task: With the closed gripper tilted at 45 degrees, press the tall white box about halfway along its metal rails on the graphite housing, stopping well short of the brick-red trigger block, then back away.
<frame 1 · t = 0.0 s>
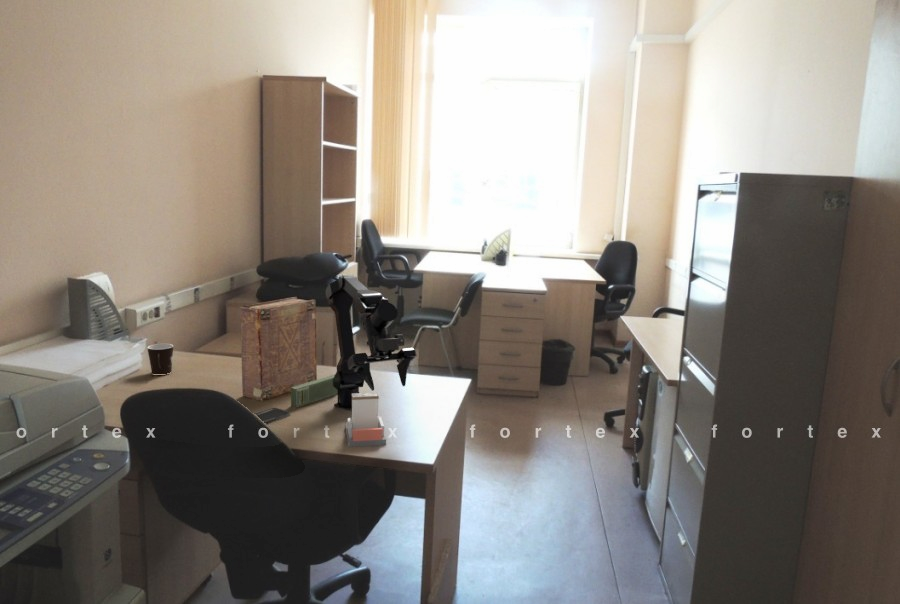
hand: (388, 388, 174), 15 cm above the table, tool tilted 35°, fingers open, 9 cm apart
book: (281, 389, 217), on the table
phone: (263, 420, 189), on the table
white box: (364, 411, 178), point 7 cm above the table, slide at 0.0 cm
key housing: (364, 434, 179), on the table
coffee mug: (159, 375, 230), on the table
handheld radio: (322, 398, 210), on the table
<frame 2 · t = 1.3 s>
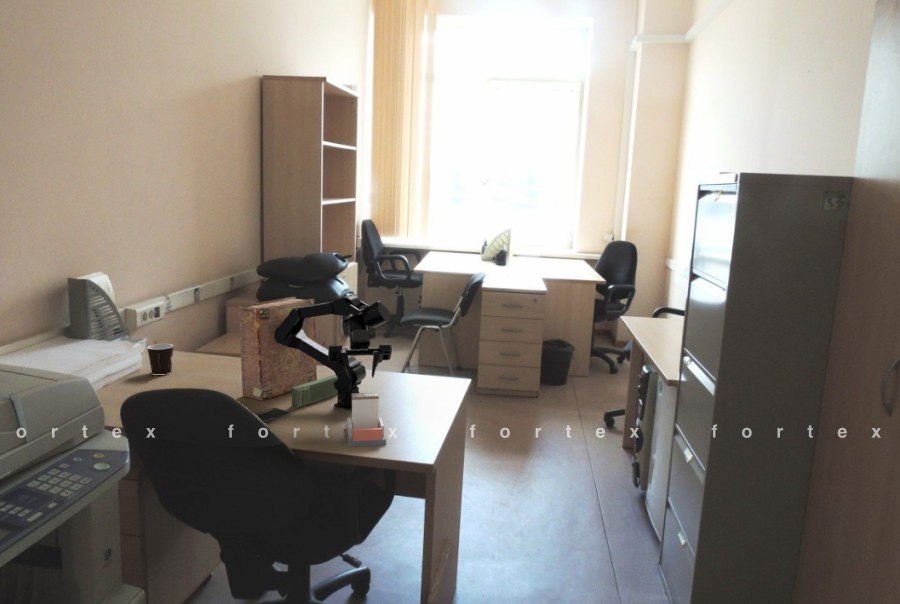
hand: (361, 377, 187), 14 cm above the table, tool tilted 45°, fingers open, 6 cm apart
nothing on the table moved.
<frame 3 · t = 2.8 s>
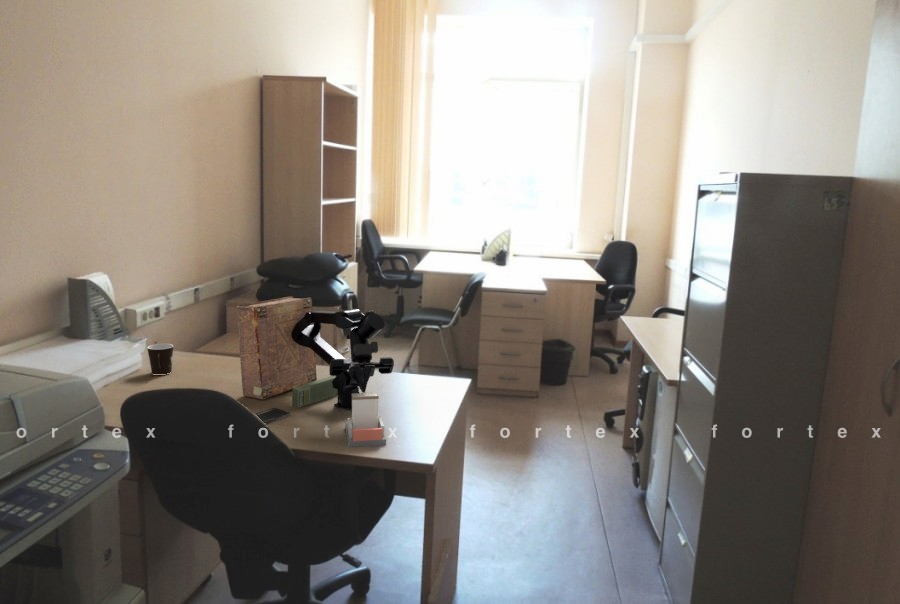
hand: (363, 392, 186), 10 cm above the table, tool tilted 45°, fingers closed
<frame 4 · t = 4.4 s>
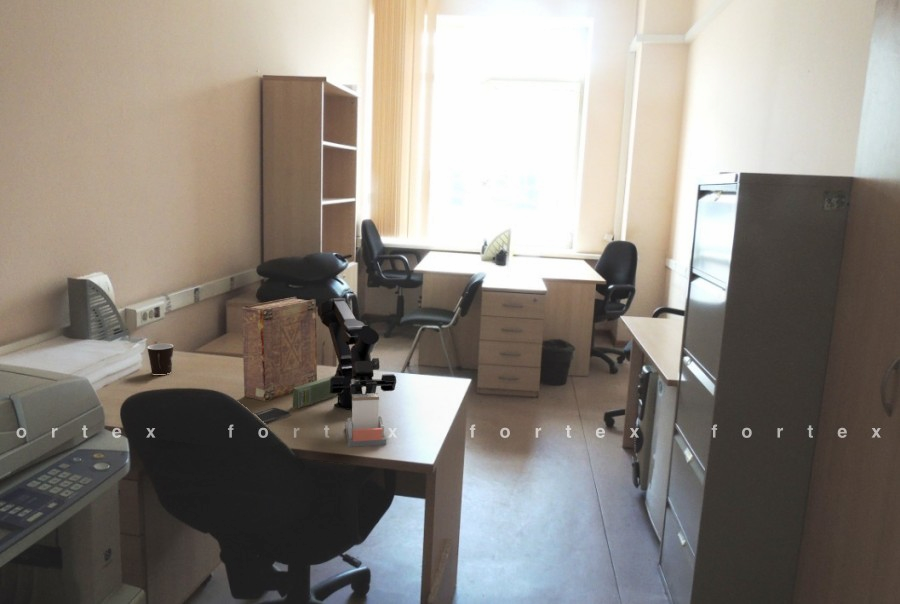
hand: (365, 410, 179), 7 cm above the table, tool tilted 45°, fingers closed, pressing on white box
white box: (365, 412, 177), point 7 cm above the table, slide at 0.7 cm, touching gripper
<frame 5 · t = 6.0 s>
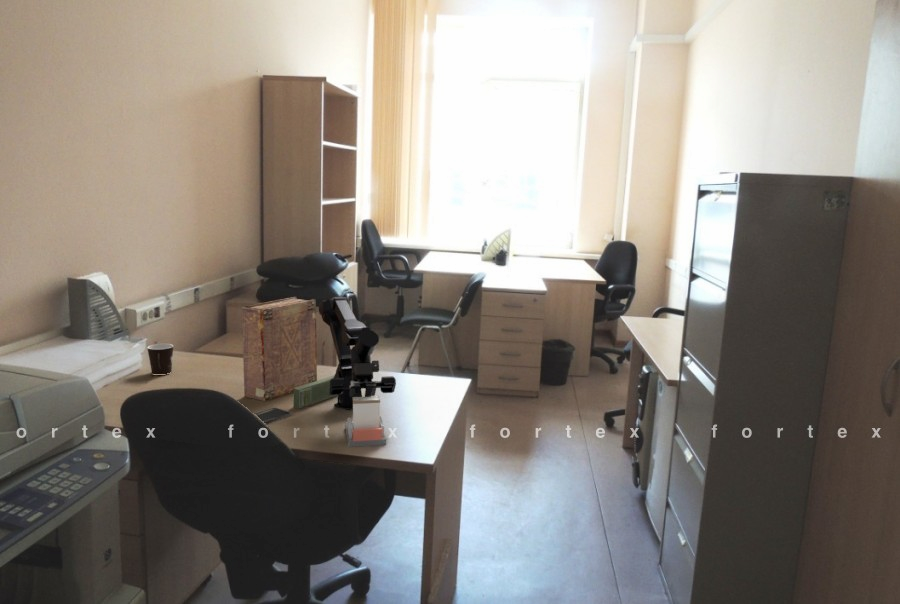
hand: (364, 412, 179), 6 cm above the table, tool tilted 45°, fingers closed
white box: (366, 415, 175), point 7 cm above the table, slide at 3.3 cm
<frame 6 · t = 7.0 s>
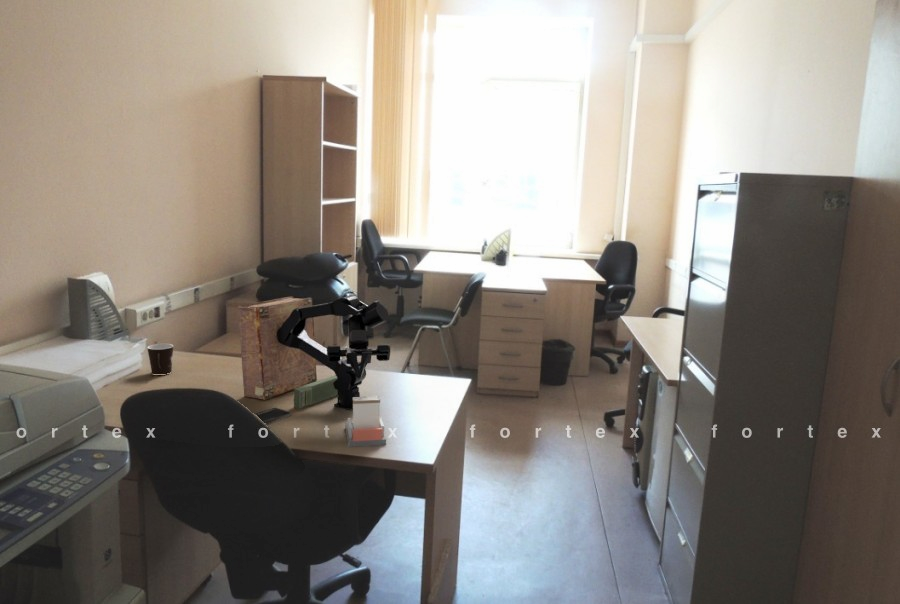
hand: (359, 378, 187), 14 cm above the table, tool tilted 45°, fingers closed
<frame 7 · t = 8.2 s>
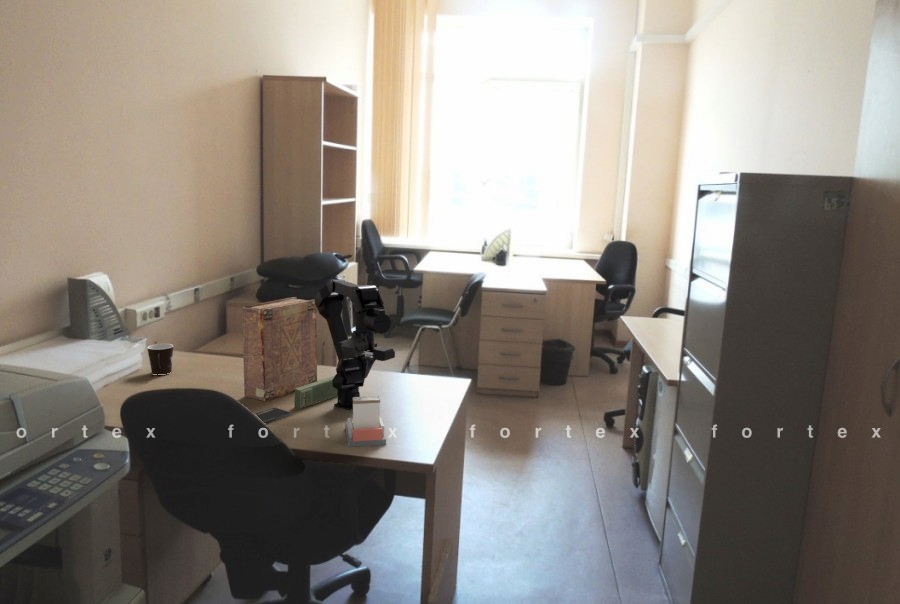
hand: (364, 377, 192), 12 cm above the table, tool pointing down, fingers closed
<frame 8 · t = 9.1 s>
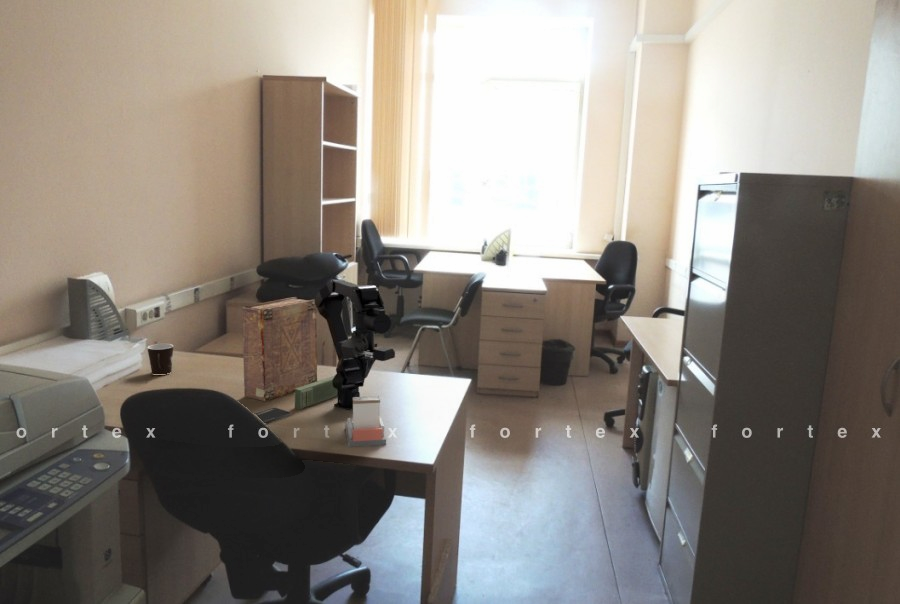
hand: (364, 377, 192), 12 cm above the table, tool pointing down, fingers closed
at the end: white box slide at 3.3 cm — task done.
